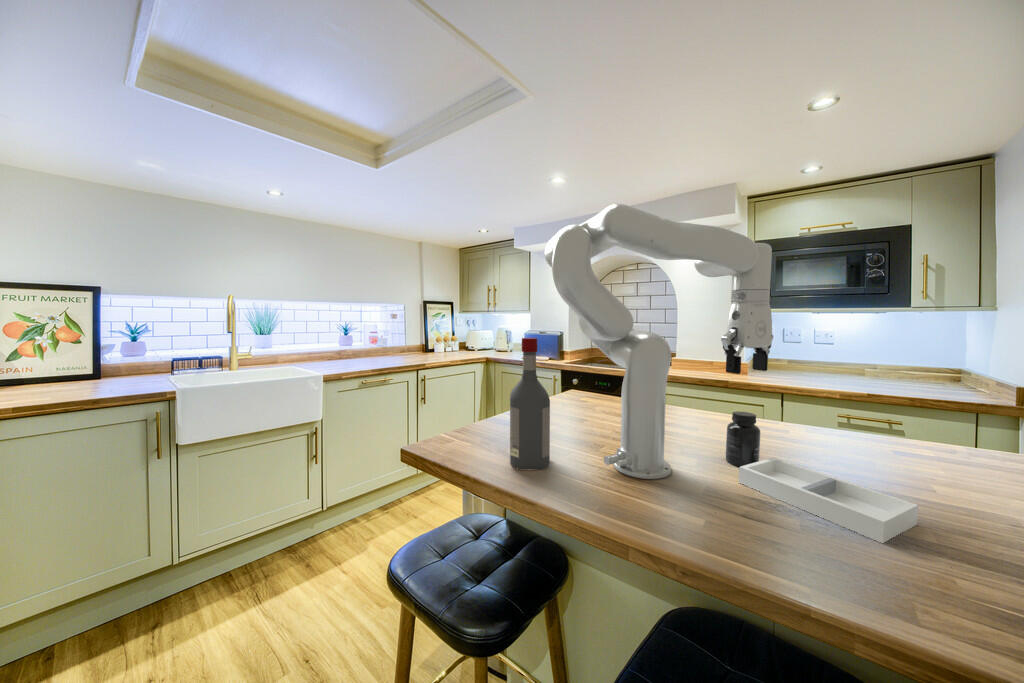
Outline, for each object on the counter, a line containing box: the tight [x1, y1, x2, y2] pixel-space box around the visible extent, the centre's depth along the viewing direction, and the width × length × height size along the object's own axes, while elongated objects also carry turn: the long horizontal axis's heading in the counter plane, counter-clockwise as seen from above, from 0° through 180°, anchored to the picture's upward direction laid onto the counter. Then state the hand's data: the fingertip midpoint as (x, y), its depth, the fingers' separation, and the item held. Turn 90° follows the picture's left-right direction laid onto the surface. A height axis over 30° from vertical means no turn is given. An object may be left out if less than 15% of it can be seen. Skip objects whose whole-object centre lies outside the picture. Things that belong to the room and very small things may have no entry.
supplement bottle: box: [725, 411, 761, 467], centre depth 89 cm, size 7×7×12 cm
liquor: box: [509, 337, 551, 470], centre depth 88 cm, size 9×9×30 cm
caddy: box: [738, 456, 919, 544], centre depth 71 cm, size 12×23×4 cm, turn 25°
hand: (746, 371), depth 88 cm, fingers open, 9 cm apart
